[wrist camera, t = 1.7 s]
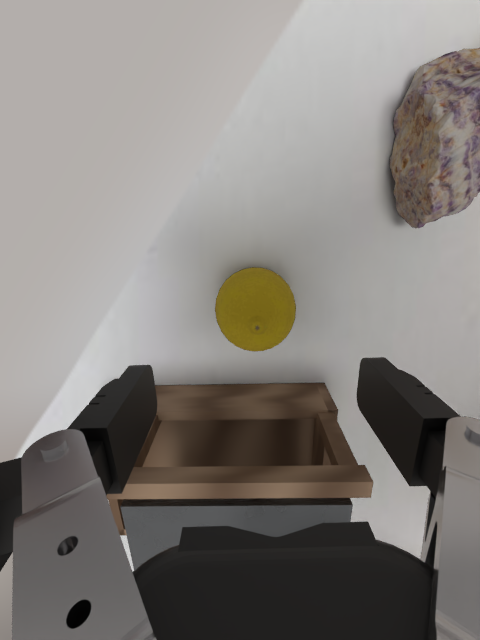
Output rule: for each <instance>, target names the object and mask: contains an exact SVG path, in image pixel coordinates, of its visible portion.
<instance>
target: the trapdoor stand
mask: <svg viewBox="0 0 480 640" xmlns="http://www.w3.org/2000/svg"><path fill="white" fill-rule="evenodd" d="M155 389H156V396H157V413H156V417H155V419H154V421H153V424H152V426H151V428H150V431H149V433H148V435H147V437H146V440H145V442H144V444H143V447H142V449H141V451H140V453H139V456H138V458H137V460H136V463H135V465H134V467H133V469H132V472H131V474H130V476H129V479H128V481H127V483H126V485H125V488H124V490H123V492H122V494H107V495H106V497H107V499H108V500H109V505H110V508H111V511H112V514H113V517H114V520H115V523H116V526H117V529H118V532H119V535H127V534H126V530H125V525H124V521H123V516H122V511H121V504H122V502H123V500H124V499H232V498H367V497H371V493H372V487H373V480H372V478H371V476H370V474H369V472H368V470H367V468H366V467H365V465H358V464H357V462H356V459H355V457H354V455H353V453H352V451H351V449H350V447H349V445H348V443H347V441H346V439H345V437H344V434H343V432H342V430H341V428H340V426H339V424H338V422H337V415H338V409H337V407H336V405H335V403H334V401H333V399H332V397H331V395H330V393H329V391H328V389H327V387H326V385H325V383H287V384H221V385H155Z"/></svg>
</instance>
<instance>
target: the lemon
mask: <svg viewBox="0 0 480 640" xmlns="http://www.w3.org/2000/svg"><path fill="white" fill-rule="evenodd" d="M215 312H216V318H217V322H218V325H219V327H220V329H221V331H222V333H223V334H224V335H225V337H226V338H227V339H228V340H229V341H230V342H231V343H233V344H234V345H235V346H237V347H240V348H242V349H244V350H249V351H264V350H267V349H270V348H273V347H274V346H276V345H278V344H279V343H281V342H282V341H283V340H284V339H285V338H286V337H287V335H288V334H289V332H290V330H291V329H292V326H293V323H294V320H295V312H296V305H295V300H294V295H293V293H292V291H291V289H290V287H289V285H288V284H287V283H286V282H285V281H284V280H283V278H282V277H281V276H279V275H277V274H276V273H274V272H273V271H270V270H267V269H264V268H254V267H252V268H247V269H243V270H240V271H238V272H236V273H234V274H233V275H232V276H231V277H229V278H228V279H227V280H226V281H225V282H224V284H223V285H222V287H221V288H220V290H219V293H218V296H217V298H216V306H215Z"/></svg>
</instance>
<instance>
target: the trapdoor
mask: <svg viewBox="0 0 480 640" xmlns="http://www.w3.org/2000/svg"><path fill="white" fill-rule="evenodd" d="M352 506H353V505H352V502H351V500H350V498H232V499H124V500H123V502H122V504H121V511H122V516H123V521H124V525H125V530H126V534H127V539H128V543H129V548H130V553H131V557H132V562H133V566H134V571H135V570H136V569H137V568H138V567H139V566H141V565H142V564H143V563H145V562H146V561H147V560H149V559H150V558H152V557H153V556H155V555H157V554H158V553H160V552H162V551H164V550H167V549H169V548H171V547H174V546H177V545H179V543H180V537H181V532H182V527H202V526H231V527H235V528H239V529H243V530H247V531H251V532H255V533H259V534H263V535H267V536H271V537H280V536H283V535H287V534H290V533H293V532H296V531H299V530H302V529H305V528H308V527H311V526H314V525H318V524H321V523H341V522H350V520H351V513H352Z"/></svg>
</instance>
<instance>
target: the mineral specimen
mask: <svg viewBox="0 0 480 640" xmlns="http://www.w3.org/2000/svg"><path fill="white" fill-rule="evenodd" d="M393 127H394V131H395V135H396V138H395V141H394V146H393V152H392V155H391V157H390V169H391V171H392V176H393V178H394V180H395V182H396V183H395V186H394V188H395V189H394V191H393V194H394V196H395V197H396V209H397V211H398V214H399V215H400V216H401V217H402V218H404V219H405V220H406V222H407V223H408V224H409V225H410V226H411V227H414V228H420V227H423V226H424V225H425V224H426V223H428V222H432V221H436V220H438V219H439V218H441V217H443V216H449V215H453V214H456V213H459V212H460V211H462V210H464V209H466V208H467V207H468V206H469V205H470V203H471V202H472V200H473V198H474V197H476V196H477V194H478V193H479V192H480V48H478V49H462V50H460V51H454V52H451V53H448V54H445V55H443V56H441V57H439V58H437V59H435V60H433V61H431V62H429V63H427V64H425V65H422V66H420V67H419V69H418V70H417V71H416V74H415V76H414V78H413V80H412V83H411V85H410V87H409V89H408V91H407V93H406V95H405V97H404V100H403V102H402V105H401V106H400V107H399V108H398V109H397V110H396V114H395V118H394V125H393Z"/></svg>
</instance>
